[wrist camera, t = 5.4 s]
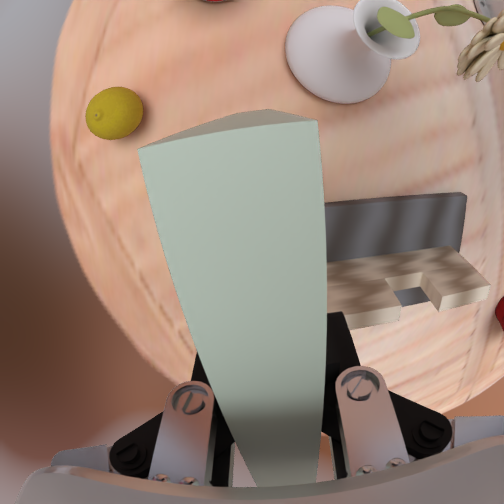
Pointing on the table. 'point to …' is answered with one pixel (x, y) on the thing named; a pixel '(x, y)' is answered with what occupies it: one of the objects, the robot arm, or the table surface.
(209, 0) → the soda can
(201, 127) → the sage plate
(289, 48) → the flower in vase
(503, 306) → the plastic cup
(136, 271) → the table surface
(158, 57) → the table surface
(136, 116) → the lemon
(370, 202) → the board
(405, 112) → the table surface
